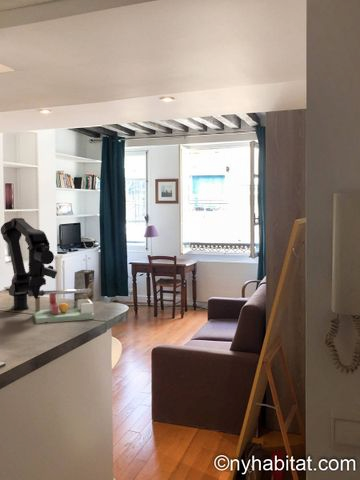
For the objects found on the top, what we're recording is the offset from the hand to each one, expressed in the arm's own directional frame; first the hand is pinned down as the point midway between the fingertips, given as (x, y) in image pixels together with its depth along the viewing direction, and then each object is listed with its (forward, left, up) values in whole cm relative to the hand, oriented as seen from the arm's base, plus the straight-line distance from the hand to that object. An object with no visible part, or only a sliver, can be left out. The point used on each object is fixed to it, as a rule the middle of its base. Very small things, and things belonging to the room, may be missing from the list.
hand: (35, 298), depth 186 cm
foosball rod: (+4, +10, -5) cm, 12 cm away
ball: (+5, +11, -4) cm, 12 cm away
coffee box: (-13, +23, -8) cm, 27 cm away
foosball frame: (+5, +11, -8) cm, 14 cm away
